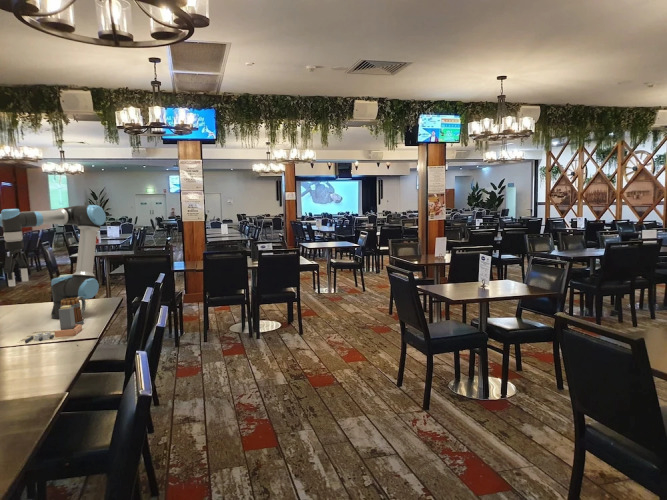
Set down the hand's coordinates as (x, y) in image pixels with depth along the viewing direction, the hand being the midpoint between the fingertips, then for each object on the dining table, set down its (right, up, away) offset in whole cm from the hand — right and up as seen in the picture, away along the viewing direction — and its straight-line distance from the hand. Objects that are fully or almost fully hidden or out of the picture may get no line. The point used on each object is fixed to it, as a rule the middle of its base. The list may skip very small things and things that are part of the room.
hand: (18, 283), depth 238 cm
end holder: (+24, -25, +1) cm, 35 cm away
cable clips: (+16, -26, -7) cm, 31 cm away
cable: (+15, -26, -8) cm, 31 cm away
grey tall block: (+24, -24, +1) cm, 34 cm away
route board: (+17, -26, 0) cm, 31 cm away
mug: (+18, -24, +20) cm, 36 cm away
